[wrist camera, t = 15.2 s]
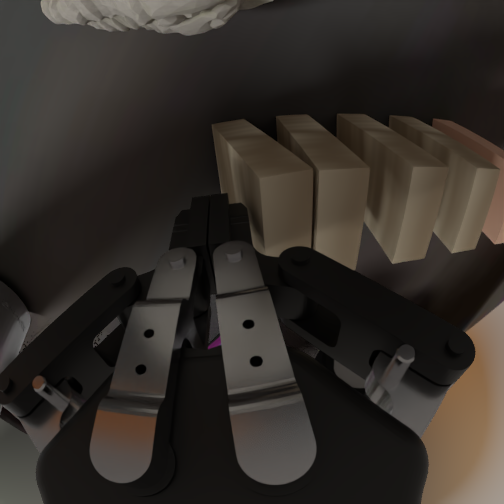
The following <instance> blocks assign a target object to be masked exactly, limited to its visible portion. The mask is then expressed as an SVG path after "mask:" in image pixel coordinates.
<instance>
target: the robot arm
mask: <svg viewBox="0 0 504 504" xmlns="http://www.w3.org/2000/svg"><path fill="white" fill-rule="evenodd" d="M212 294H217V295H216V305H217V313H218V322H219V330H220V338H221V345H219V346H216V347H213V348H210V349H208V342H209V331H210V320H211V307H210V295H212ZM116 317H117V318H118V320H119V321H120V323H121V324H120V325H119V326H118V327H117V328H116V329H115V330H114V331H113V332H112V333H110V334H109V335H108V336H107V337H106V338H105V339H104V340H103V341H102V342H101V343H100V344H99V345H98V346H97V347H94V348H93V340H94V338H95V337H96V336H97V335H98V334H99V333H100V332H101V331H102V330H103V329H104V328H105V327H106V326H107V325H108V324H109V323H110V322H111V321H113V320H114V319H115V318H116ZM277 318H280V319H281V321H282V323H283V324H284V325H285V326H287V327H288V328H290V329H291V330H292V331H294V332H295V333H297V334H298V335H299V336H301V337H302V338H304V339H305V340H307V341H308V342H310V343H311V344H312V345H314V346H315V347H317V348H318V349H320V350H321V351H323V352H324V353H325V354H327V355H328V356H330V357H331V358H333V359H334V360H336V361H337V362H339V363H340V364H342V365H343V366H345V367H346V368H348V369H349V370H351V371H352V372H354V373H355V374H357V375H358V376H360V377H361V378H363V379H364V380H365V391H366V394H367V395H368V397H369V398H370V399H371V400H372V401H373V402H374V403H373V402H372V401H371V400H369V399H368V398H367V397H365V396H364V395H362V394H361V393H360V392H358V391H357V390H355V389H354V388H353V387H351V386H350V385H349V384H347V383H346V382H345V381H343V380H342V379H341V378H339V377H338V376H337V375H335V374H334V373H333V372H331V371H330V370H329V369H327V368H326V367H325V366H323V365H322V364H321V363H319V362H318V361H317V360H315V359H314V358H313V357H311V356H309V355H308V354H306V353H304V352H302V351H300V350H297V349H294V348H291V347H288V346H285V343H284V339H283V336H282V332H281V329H280V326H279V322H278V319H277ZM30 321H31V319H30V315H29V312H28V310H27V308H26V306H25V305H24V303H23V302H22V301H21V299H20V298H19V297H18V296H17V295H16V294H15V293H14V292H13V291H12V290H11V289H10V288H9V287H8V286H7V285H6V284H4V283H3V282H1V281H0V412H1V408H2V406H3V407H4V408H6V409H7V410H9V411H10V412H11V413H12V414H13V415H14V416H15V417H17V418H18V419H20V421H21V423H22V425H23V426H24V428H25V430H26V432H27V433H28V435H29V437H30V438H31V440H32V441H33V443H34V445H35V446H36V448H37V449H38V451H39V452H40V456H39V459H38V462H37V466H36V480H37V485H38V488H39V491H40V494H41V497H42V500H43V503H44V504H421V498H422V493H423V489H424V485H425V482H426V478H427V474H428V455H427V451H426V448H425V446H424V444H423V442H422V440H421V439H420V438H421V437H422V435H423V433H424V432H425V430H426V429H427V427H428V425H429V424H430V422H431V420H432V418H433V417H434V415H435V413H436V411H437V409H438V407H439V406H440V404H441V402H442V400H443V398H444V396H445V394H446V392H447V391H448V390H449V388H450V387H451V386H452V385H453V384H454V383H455V382H456V381H457V380H458V379H459V378H460V376H461V375H462V374H463V373H464V372H465V371H466V370H467V369H468V368H469V366H470V365H471V364H472V362H473V361H474V358H475V347H474V344H473V342H472V340H471V339H470V337H469V336H468V335H467V334H466V333H465V332H463V331H462V330H460V329H458V328H457V327H455V326H453V325H451V324H450V323H448V322H446V321H445V320H443V319H441V318H439V317H438V316H436V315H434V314H432V313H430V312H429V311H427V310H425V309H423V308H422V307H420V306H418V305H416V304H414V303H413V302H411V301H409V300H407V299H405V298H404V297H402V296H400V295H398V294H396V293H395V292H393V291H391V290H389V289H387V288H385V287H384V286H382V285H380V284H378V283H376V282H374V281H373V280H371V279H369V278H367V277H365V276H363V275H361V274H360V273H358V272H356V271H354V270H352V269H350V268H348V267H346V266H344V265H343V264H341V263H339V262H337V261H335V260H333V259H331V258H329V257H327V256H325V255H323V254H322V253H320V252H318V251H316V250H314V249H312V248H309V247H304V246H295V247H290V248H288V249H286V250H284V251H283V252H282V253H281V254H280V255H279V257H273V256H267V255H264V254H261V253H260V252H258V251H257V250H256V249H255V248H254V246H253V242H252V236H251V230H250V223H249V217H248V211H247V207H246V206H244V205H243V204H242V203H241V202H240V203H233V204H229V198H228V193H222V194H215V195H211V196H210V195H208V196H201V197H194V198H192V204H191V209H189V210H183V211H181V212H180V213H179V215H178V216H177V217H176V219H175V223H174V228H173V233H172V237H171V242H170V247H169V251H167V252H166V253H164V254H163V255H162V256H161V257H160V259H159V260H158V263H157V266H156V269H154V270H152V271H150V272H147V273H145V274H142V275H139V276H137V274H136V272H135V271H134V270H133V269H131V268H128V267H123V268H118V269H116V270H113V271H112V272H110V273H109V274H107V275H106V276H105V277H104V278H103V279H101V280H100V281H99V282H98V283H97V284H95V285H94V286H93V287H92V288H91V289H90V290H88V291H87V292H86V293H85V294H84V295H83V296H82V297H80V298H79V299H78V300H77V301H76V302H75V303H74V304H72V305H71V306H70V307H69V308H68V309H67V310H66V311H65V312H63V313H62V314H61V315H60V316H59V317H58V318H57V319H56V320H55V321H54V322H52V323H51V324H50V325H49V326H48V327H47V328H46V329H45V330H44V331H43V332H42V333H41V334H40V335H39V336H38V337H37V338H35V339H34V340H33V341H32V342H31V343H30V344H29V345H28V346H27V347H26V348H25V349H24V350H23V351H22V352H21V353H20V354H19V351H20V348H21V346H22V343H23V341H24V338H25V336H26V333H27V331H28V328H29V326H30ZM18 354H19V355H18Z"/></svg>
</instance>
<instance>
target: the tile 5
mask: <svg viewBox="0 0 504 504" xmlns="http://www.w3.org/2000/svg"><path fill="white" fill-rule="evenodd" d="M432 127H433V128H435V129H437V130H438V131H440V132H442V133H444V134H446V135H447V136H449V137H451V138H453V139H454V140H456V141H458V142H459V143H461V144H463V145H464V146H466V147H468V148H469V149H471V150H472V151H474V152H476V153H477V154H479V155H480V156H482V157H483V158H485V159H486V160H488V161H489V162H491V163H492V164H493V165H495V166H496V167H498V168H499V169H500V173H499V177H498V181H497V185H496V188H495V192H494V195H493V199H492V202H491V205H490V208H489V211H488V214H487V217H486V220H485V223H484V226H483V229H482V231H483V232H484V233H485V234H486V235H487V237H488V238H489V239H490V240H491V241H492V242H493V243H494V244H499V243H504V150H502V149H501V148H499V147H497V146H496V145H494V144H492V143H491V142H489V141H487V140H486V139H484V138H482V137H480V136H479V135H477V134H475V133H473V132H472V131H470V130H468V129H466V128H464V127H462V126H460V125H458V124H456V123H454V122H452V121H449V120H441V119H434V118H433V122H432Z"/></svg>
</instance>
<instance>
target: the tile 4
mask: <svg viewBox="0 0 504 504" xmlns="http://www.w3.org/2000/svg"><path fill="white" fill-rule="evenodd" d="M389 128H390V129H392V130H393V131H395V132H397V133H398V134H400V135H402V136H403V137H405V138H406V139H408V140H410V141H411V142H413V143H414V144H416V145H417V146H419V147H420V148H422V149H423V150H425V151H426V152H428V153H429V154H431V155H432V156H434V157H435V158H437V159H438V160H439V161H441V162H442V163H444V164H445V165H446V166H448V167H449V168H448V173H447V178H446V182H445V187H444V191H443V195H442V199H441V203H440V207H439V211H438V215H437V219H436V222H435V226H434V229H433V232H434V233H435V234H436V235H437V236H438V237H439V239H440V240H441V241H442V242H443V243H444V245H445V246H446V247H447V248H448V249H449V251H450V252H451V253H456V252H461V251H466V250H471V249H475V247H476V245H477V242H478V239H479V237H480V234H481V231H482V229H483V226H484V223H485V220H486V217H487V214H488V211H489V208H490V205H491V202H492V199H493V195H494V192H495V188H496V185H497V181H498V177H499V173H500V169H499V168H498V167H496V166H495V165H493V164H492V163H491V162H489V161H488V160H486V159H485V158H483V157H482V156H480V155H479V154H477V153H476V152H474V151H472V150H471V149H469V148H468V147H466V146H464V145H463V144H461V143H459V142H458V141H456V140H454V139H453V138H451V137H449V136H447V135H446V134H444V133H442V132H440V131H438V130H437V129H435V128H433V127H431V126H429V125H427V124H425V123H423V122H421V121H420V120H418V119H416V118H414V117H408V116H395V115H389Z"/></svg>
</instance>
